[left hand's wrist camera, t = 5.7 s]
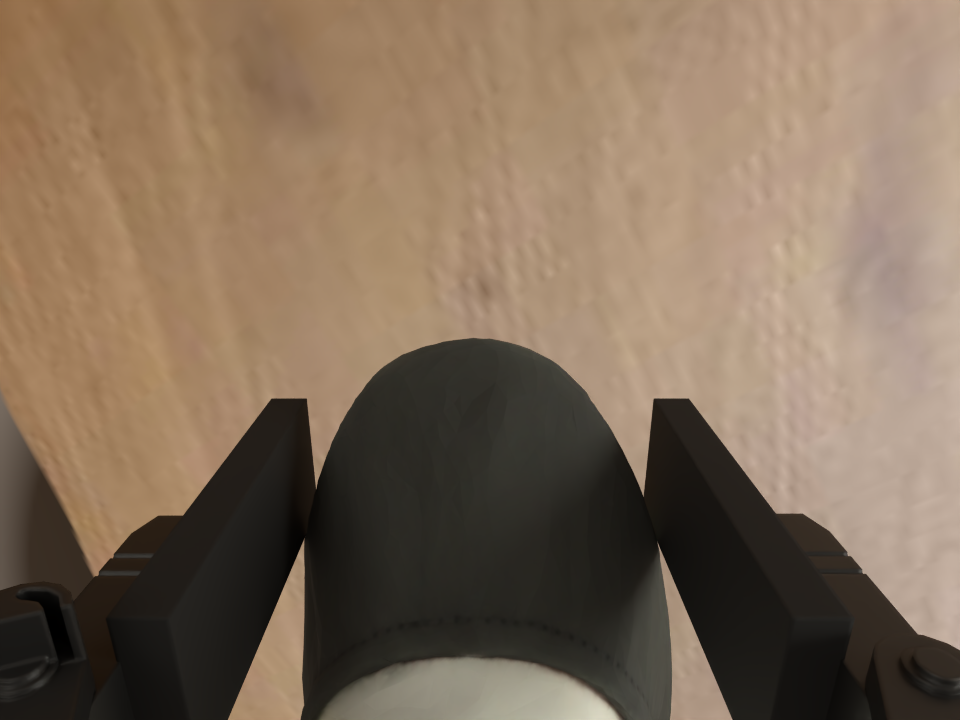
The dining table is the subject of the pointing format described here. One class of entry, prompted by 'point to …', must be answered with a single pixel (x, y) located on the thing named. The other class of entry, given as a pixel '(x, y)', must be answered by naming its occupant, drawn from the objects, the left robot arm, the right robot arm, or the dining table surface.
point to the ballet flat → (481, 552)
